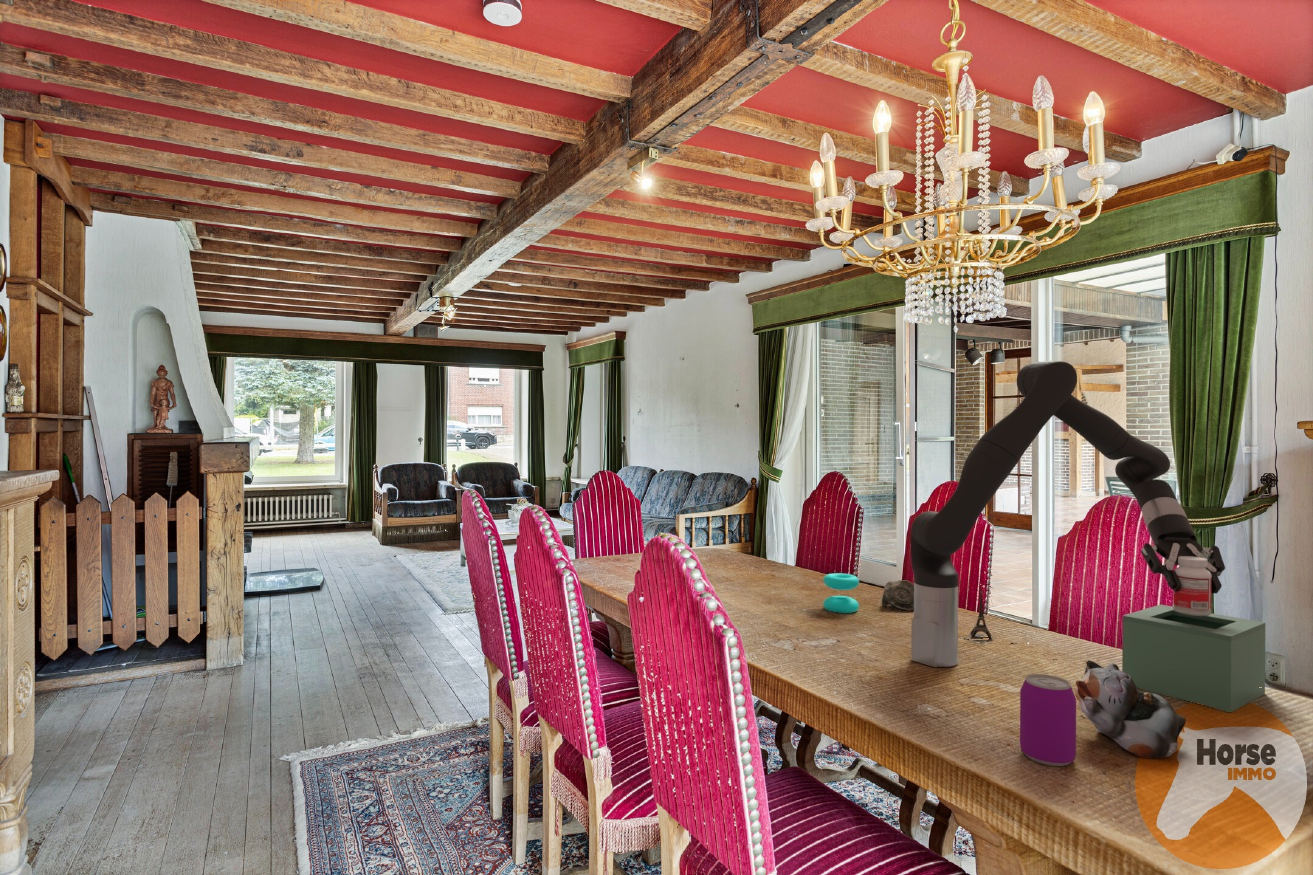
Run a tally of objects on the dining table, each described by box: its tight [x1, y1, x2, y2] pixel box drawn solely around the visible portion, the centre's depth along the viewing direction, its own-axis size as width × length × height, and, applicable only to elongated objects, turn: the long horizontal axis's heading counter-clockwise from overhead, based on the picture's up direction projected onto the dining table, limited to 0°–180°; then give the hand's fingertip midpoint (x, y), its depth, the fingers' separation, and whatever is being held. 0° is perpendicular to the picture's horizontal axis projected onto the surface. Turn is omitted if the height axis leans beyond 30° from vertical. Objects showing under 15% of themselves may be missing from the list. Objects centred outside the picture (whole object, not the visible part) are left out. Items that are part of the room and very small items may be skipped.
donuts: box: [822, 572, 860, 614], centre depth 206 cm, size 10×10×10 cm
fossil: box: [881, 579, 914, 612], centre depth 210 cm, size 11×9×10 cm
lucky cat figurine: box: [1074, 660, 1187, 760], centre depth 118 cm, size 15×12×14 cm
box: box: [1121, 604, 1266, 713], centre depth 143 cm, size 18×18×14 cm
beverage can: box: [1019, 673, 1077, 767], centre depth 111 cm, size 8×8×12 cm
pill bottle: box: [1172, 556, 1212, 616], centre depth 143 cm, size 6×6×11 cm
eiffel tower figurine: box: [959, 586, 1016, 645], centre depth 179 cm, size 15×10×13 cm
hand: (1197, 590), depth 141 cm, fingers closed on pill bottle, 6 cm apart
